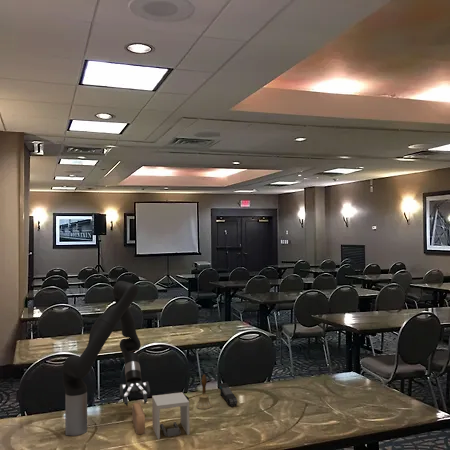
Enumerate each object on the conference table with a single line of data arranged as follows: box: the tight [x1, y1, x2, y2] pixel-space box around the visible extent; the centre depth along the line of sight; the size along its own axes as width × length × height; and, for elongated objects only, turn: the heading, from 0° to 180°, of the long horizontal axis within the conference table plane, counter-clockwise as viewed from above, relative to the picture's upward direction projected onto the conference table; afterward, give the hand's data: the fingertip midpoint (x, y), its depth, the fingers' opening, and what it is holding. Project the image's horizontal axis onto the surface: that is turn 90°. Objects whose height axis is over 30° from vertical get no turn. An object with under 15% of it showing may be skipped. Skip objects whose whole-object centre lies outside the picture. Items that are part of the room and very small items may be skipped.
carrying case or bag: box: [164, 390, 190, 401], centre depth 255 cm, size 11×3×15 cm
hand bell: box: [195, 374, 213, 410], centre depth 244 cm, size 8×8×16 cm
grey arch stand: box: [151, 391, 191, 440], centre depth 213 cm, size 14×14×14 cm
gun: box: [218, 382, 238, 408], centre depth 251 cm, size 4×20×10 cm, turn 17°
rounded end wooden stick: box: [131, 402, 146, 436], centre depth 218 cm, size 18×4×8 cm, turn 17°
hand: (136, 403), depth 226 cm, fingers open, 8 cm apart
